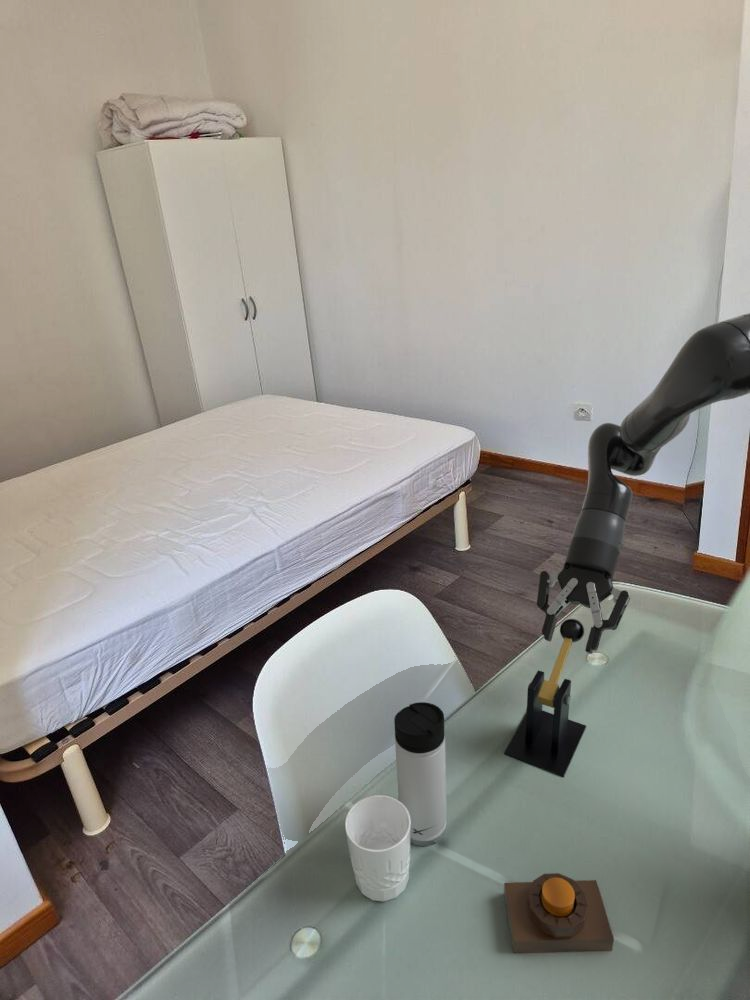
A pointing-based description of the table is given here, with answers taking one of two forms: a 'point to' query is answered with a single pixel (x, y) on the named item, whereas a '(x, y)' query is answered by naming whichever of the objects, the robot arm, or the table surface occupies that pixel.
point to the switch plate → (557, 919)
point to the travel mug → (422, 770)
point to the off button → (558, 897)
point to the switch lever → (560, 660)
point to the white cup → (379, 846)
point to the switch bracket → (546, 731)
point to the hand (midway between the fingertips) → (567, 645)
